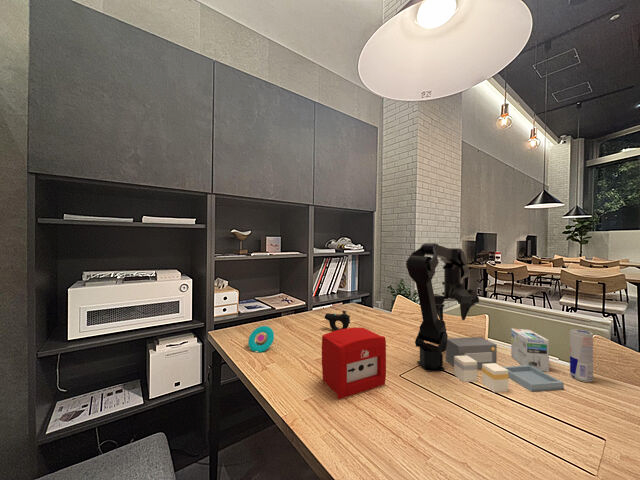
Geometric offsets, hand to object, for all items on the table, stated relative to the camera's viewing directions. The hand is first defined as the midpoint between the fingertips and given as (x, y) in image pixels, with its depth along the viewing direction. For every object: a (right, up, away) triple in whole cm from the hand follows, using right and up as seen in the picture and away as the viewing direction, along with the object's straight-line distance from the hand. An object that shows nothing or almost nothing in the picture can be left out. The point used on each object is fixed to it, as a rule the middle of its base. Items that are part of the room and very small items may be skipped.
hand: (452, 320), depth 100 cm
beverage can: (+31, -13, -19) cm, 38 cm away
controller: (-43, -13, +22) cm, 50 cm away
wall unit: (+1, -12, -10) cm, 16 cm away
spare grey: (-6, -12, -19) cm, 23 cm away
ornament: (-75, -12, +2) cm, 76 cm away
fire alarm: (-42, -12, -23) cm, 49 cm away
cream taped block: (0, -12, -24) cm, 27 cm away
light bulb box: (+22, -13, -9) cm, 27 cm away
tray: (+14, -12, -21) cm, 27 cm away
